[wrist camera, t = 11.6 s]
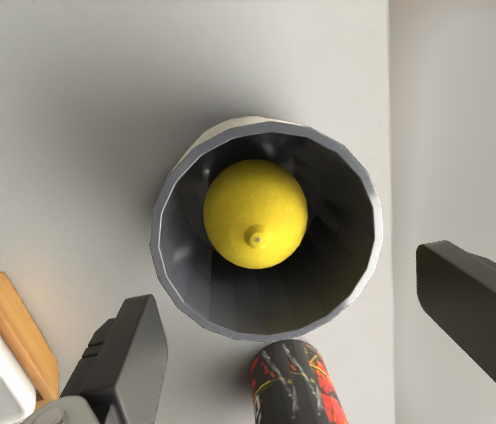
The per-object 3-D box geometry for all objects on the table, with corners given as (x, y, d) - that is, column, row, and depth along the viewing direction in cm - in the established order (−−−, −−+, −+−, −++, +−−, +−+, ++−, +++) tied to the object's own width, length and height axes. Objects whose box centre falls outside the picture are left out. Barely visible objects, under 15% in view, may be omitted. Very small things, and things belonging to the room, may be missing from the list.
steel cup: (160, 130, 22) (122, 146, 13) (315, 103, 22) (376, 102, 13) (193, 271, 24) (179, 359, 16) (329, 245, 25) (387, 319, 16)
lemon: (277, 135, 21) (296, 155, 14) (307, 214, 23) (339, 271, 15) (195, 170, 22) (170, 207, 14) (230, 244, 24) (225, 313, 16)
